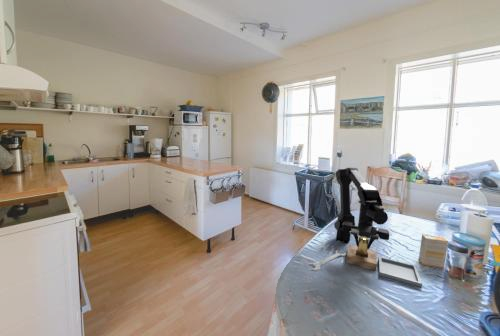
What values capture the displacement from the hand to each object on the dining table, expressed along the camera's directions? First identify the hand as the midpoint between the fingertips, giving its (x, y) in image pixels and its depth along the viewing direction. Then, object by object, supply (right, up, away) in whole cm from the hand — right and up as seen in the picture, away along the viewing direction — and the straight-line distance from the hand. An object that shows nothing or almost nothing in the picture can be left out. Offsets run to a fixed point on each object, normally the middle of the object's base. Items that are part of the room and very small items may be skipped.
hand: (362, 247), depth 102 cm
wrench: (-16, -6, 0) cm, 17 cm away
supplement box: (+31, -7, -1) cm, 32 cm away
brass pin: (0, -5, +1) cm, 4 cm away
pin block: (0, -6, +1) cm, 6 cm away
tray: (+11, -8, -8) cm, 16 cm away
